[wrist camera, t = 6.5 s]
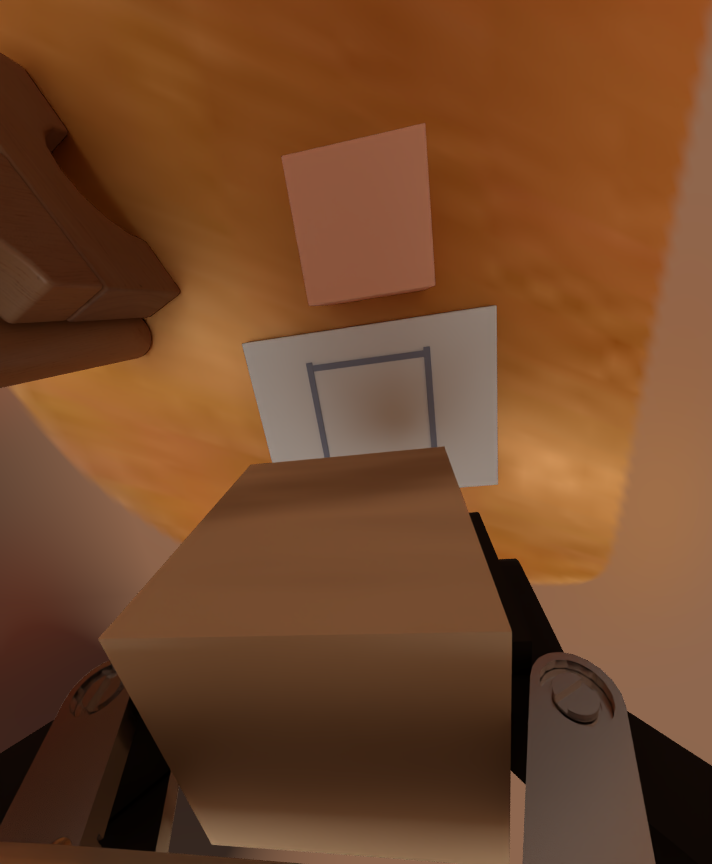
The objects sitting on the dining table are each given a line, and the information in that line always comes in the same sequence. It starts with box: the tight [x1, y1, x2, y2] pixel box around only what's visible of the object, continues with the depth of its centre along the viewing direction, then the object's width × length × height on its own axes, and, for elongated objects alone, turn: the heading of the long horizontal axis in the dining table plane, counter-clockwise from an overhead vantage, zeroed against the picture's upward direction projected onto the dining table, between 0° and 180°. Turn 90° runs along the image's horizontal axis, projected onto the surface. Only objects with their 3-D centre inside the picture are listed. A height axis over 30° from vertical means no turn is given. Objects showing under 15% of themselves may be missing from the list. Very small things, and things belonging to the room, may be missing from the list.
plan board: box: [242, 305, 498, 488], centre depth 24 cm, size 12×16×1 cm
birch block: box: [99, 446, 512, 864], centre depth 9 cm, size 6×6×6 cm
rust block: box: [281, 123, 435, 306], centre depth 18 cm, size 6×6×6 cm
